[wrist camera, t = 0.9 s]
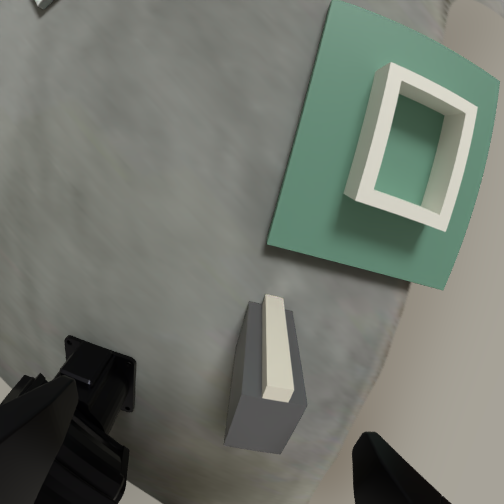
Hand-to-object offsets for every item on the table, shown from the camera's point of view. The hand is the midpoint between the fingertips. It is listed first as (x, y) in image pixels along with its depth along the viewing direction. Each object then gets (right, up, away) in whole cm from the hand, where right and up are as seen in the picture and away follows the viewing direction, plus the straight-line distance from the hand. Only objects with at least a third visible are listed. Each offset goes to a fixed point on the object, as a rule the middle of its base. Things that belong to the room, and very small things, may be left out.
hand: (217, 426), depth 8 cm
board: (+10, +12, +10) cm, 18 cm away
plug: (+2, 0, +14) cm, 14 cm away
